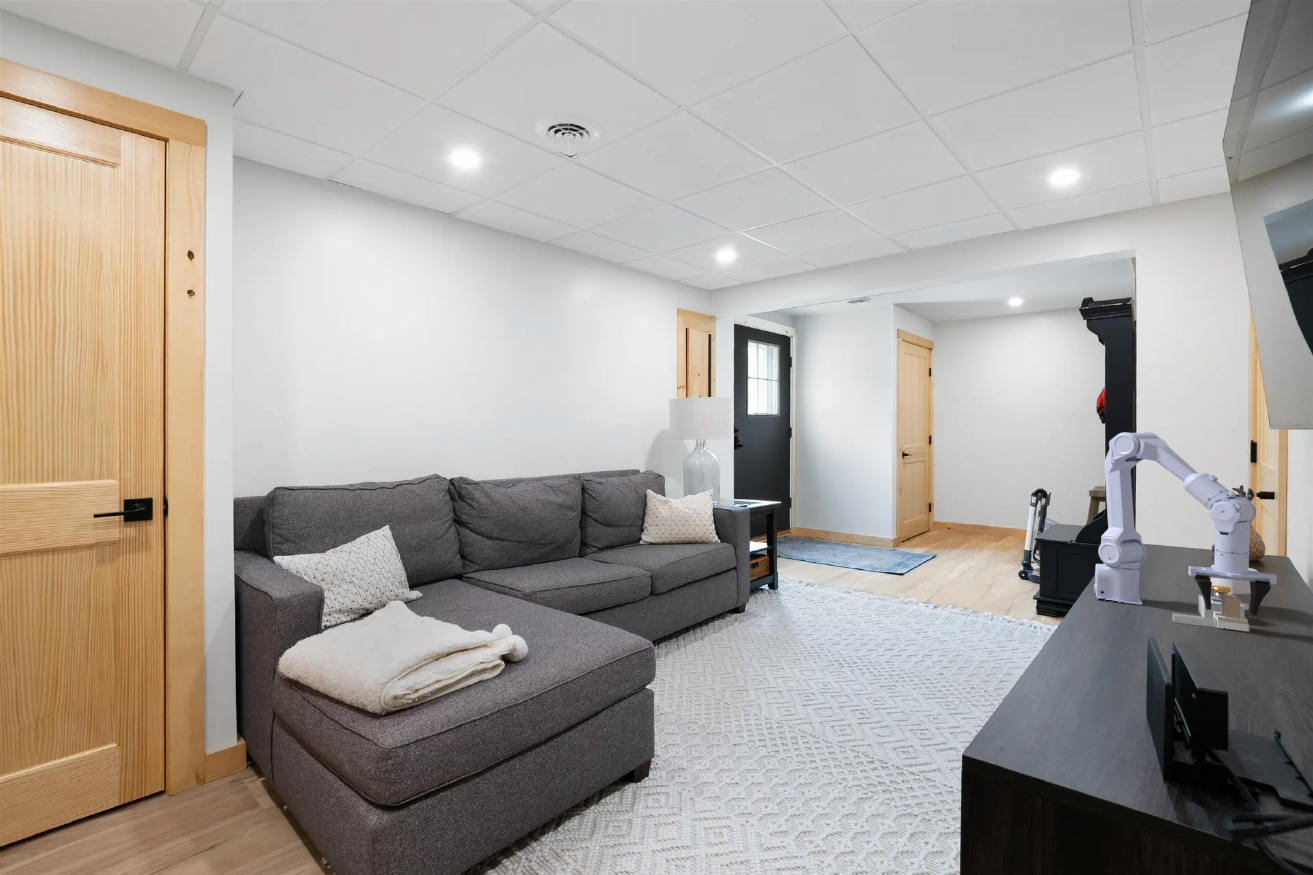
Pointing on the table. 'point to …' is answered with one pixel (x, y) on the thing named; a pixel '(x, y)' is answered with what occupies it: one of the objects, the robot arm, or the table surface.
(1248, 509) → the robot arm
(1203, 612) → the grey square-hole block
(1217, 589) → the gold round knob
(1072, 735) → the table surface
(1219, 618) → the carriage
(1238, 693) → the table surface
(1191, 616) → the rail
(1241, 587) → the security camera
